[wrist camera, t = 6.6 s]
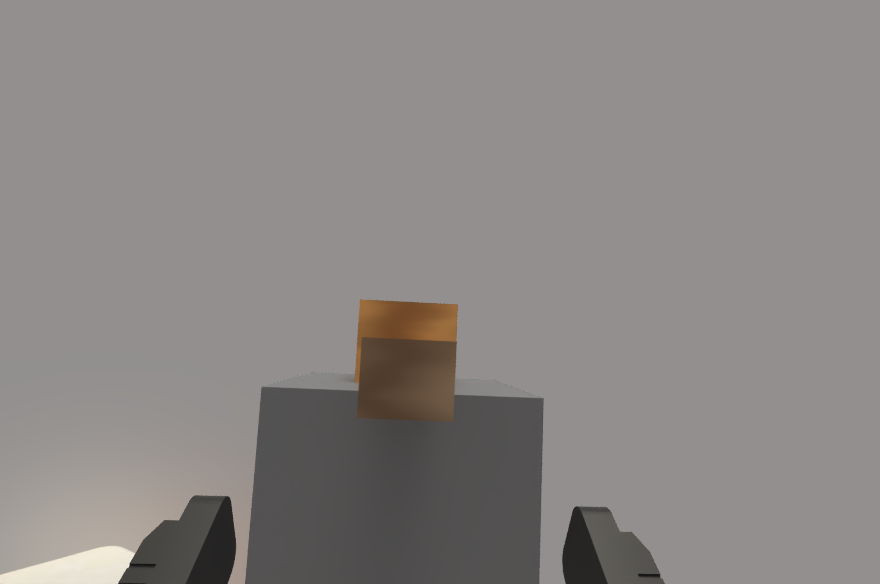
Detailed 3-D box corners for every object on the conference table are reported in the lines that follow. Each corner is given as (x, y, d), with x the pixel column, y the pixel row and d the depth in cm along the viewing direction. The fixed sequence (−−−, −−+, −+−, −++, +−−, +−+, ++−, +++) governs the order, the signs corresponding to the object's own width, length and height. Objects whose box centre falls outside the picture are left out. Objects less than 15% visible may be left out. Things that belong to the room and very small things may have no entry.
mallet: (444, 379, 38) (448, 312, 38) (500, 423, 16) (505, 266, 17) (363, 375, 38) (368, 308, 38) (307, 416, 16) (319, 256, 16)
